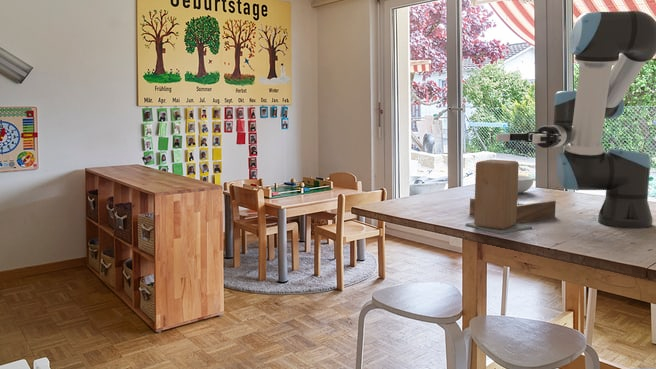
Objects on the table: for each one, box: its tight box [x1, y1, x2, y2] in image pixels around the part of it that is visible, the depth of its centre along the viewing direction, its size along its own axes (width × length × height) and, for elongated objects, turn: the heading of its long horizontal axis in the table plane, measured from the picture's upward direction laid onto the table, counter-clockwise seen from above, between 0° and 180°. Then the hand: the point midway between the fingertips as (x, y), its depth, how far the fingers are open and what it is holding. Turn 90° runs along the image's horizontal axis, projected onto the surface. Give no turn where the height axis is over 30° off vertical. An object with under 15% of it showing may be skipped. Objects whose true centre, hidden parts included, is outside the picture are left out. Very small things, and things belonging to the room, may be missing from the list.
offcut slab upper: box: [517, 200, 538, 205], centre depth 190 cm, size 8×4×2 cm, turn 125°
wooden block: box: [473, 159, 520, 230], centre depth 168 cm, size 10×10×20 cm
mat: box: [465, 221, 533, 235], centre depth 170 cm, size 14×14×1 cm
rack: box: [469, 197, 557, 224], centre depth 187 cm, size 19×20×6 cm
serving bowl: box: [517, 174, 535, 195], centre depth 236 cm, size 21×21×7 cm
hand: (515, 138), depth 175 cm, fingers open, 12 cm apart
